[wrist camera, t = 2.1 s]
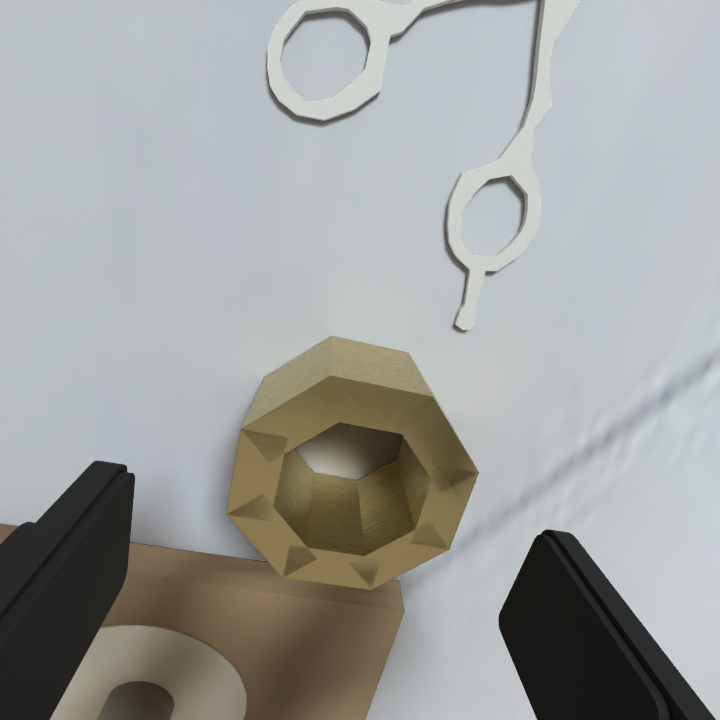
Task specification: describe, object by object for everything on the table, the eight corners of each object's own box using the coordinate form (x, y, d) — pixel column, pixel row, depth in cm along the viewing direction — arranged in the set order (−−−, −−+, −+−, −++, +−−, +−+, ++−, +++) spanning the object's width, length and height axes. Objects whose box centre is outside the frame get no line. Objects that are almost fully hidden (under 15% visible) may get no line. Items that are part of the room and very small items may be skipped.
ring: (460, 364, 15) (502, 410, 11) (409, 516, 17) (430, 598, 14) (274, 323, 14) (252, 359, 11) (244, 488, 16) (216, 568, 13)
